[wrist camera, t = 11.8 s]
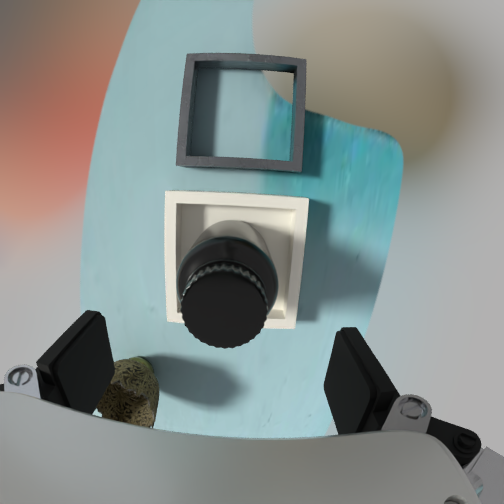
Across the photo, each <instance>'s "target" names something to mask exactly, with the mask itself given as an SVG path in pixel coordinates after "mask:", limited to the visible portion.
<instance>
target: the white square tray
mask: <svg viewBox="0 0 504 504" xmlns="http://www.w3.org/2000/svg"><path fill="white" fill-rule="evenodd" d="M308 205H309V198H305V197H298V196H286V195H272V194H257V193H240V192H219V191H190V190H170V191H165V285H166V307H167V322H178V323H185V322H184V320H183V319H182V313H181V311H180V309H181V304H180V301H179V299H178V295H177V290H176V277H177V272H178V269H179V266H180V264H181V262H182V260H183V258H184V256H185V255H186V254H187V252H188V251H189V249H190V248H191V247H192V245H193V244H194V243H195V241H196V240H197V239H198V237H199V236H200V235H201V234H202V233H203V231H204V230H206V229H207V228H208V227H209V226H211V225H213V224H215V223H217V222H220V221H225V220H237V221H241V222H244V223H247V224H249V225H250V226H252V227H253V228H255V229H256V230H257V231H258V232H259V233H260V234H261V236H262V237H263V239H264V240H265V242H266V245H267V247H268V250H269V252H270V255H271V257H272V260H273V263H274V265H275V268H276V271H277V276H278V283H279V288H278V295H277V299H276V302H275V304H274V306H273V308H272V310H271V311H270V313H269V314H268V315H267V320H266V321H265V322H264V327H263V328H277V329H295V323H296V316H297V308H298V301H299V293H300V284H301V276H302V267H303V258H304V248H305V238H306V228H307V217H308Z"/></svg>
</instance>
